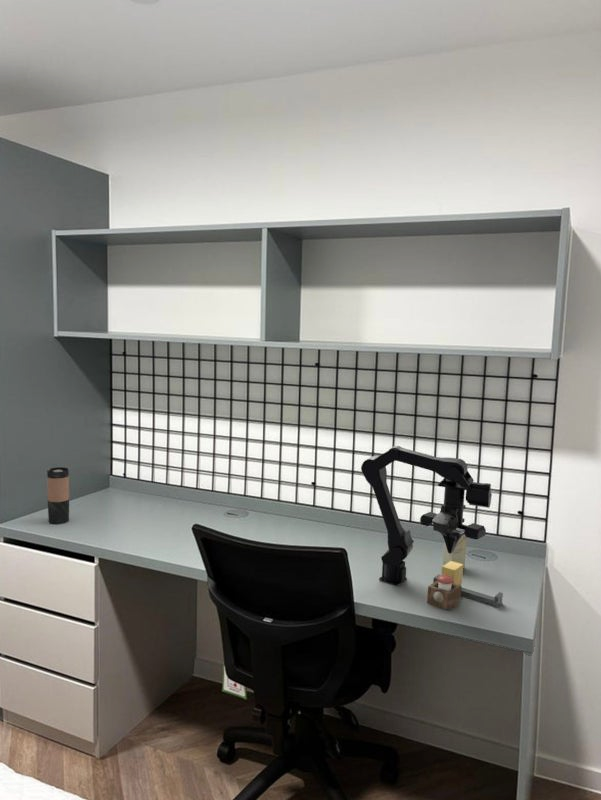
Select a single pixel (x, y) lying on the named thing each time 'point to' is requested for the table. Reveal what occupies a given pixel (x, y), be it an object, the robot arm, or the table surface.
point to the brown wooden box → (444, 596)
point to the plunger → (445, 582)
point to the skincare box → (456, 552)
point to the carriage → (453, 571)
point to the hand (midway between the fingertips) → (450, 553)
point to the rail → (480, 596)
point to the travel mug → (58, 495)
